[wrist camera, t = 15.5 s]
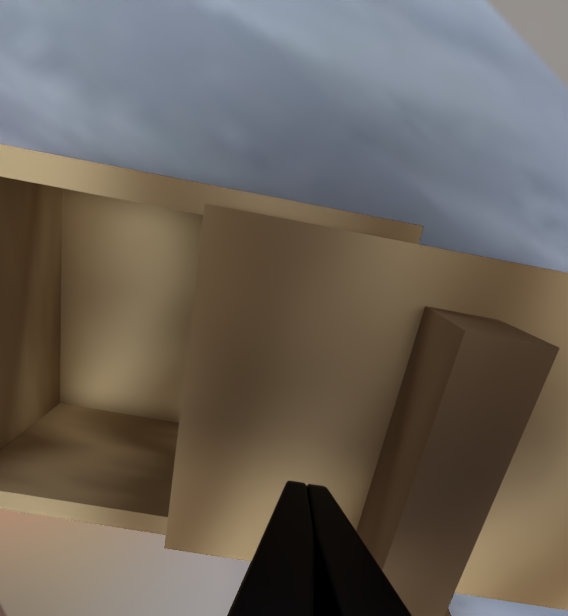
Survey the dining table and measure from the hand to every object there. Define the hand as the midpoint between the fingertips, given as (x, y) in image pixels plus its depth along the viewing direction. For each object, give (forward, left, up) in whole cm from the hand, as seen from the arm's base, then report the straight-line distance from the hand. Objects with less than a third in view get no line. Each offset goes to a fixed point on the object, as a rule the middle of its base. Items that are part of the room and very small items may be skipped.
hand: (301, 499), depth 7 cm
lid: (+4, 0, -4) cm, 5 cm away
